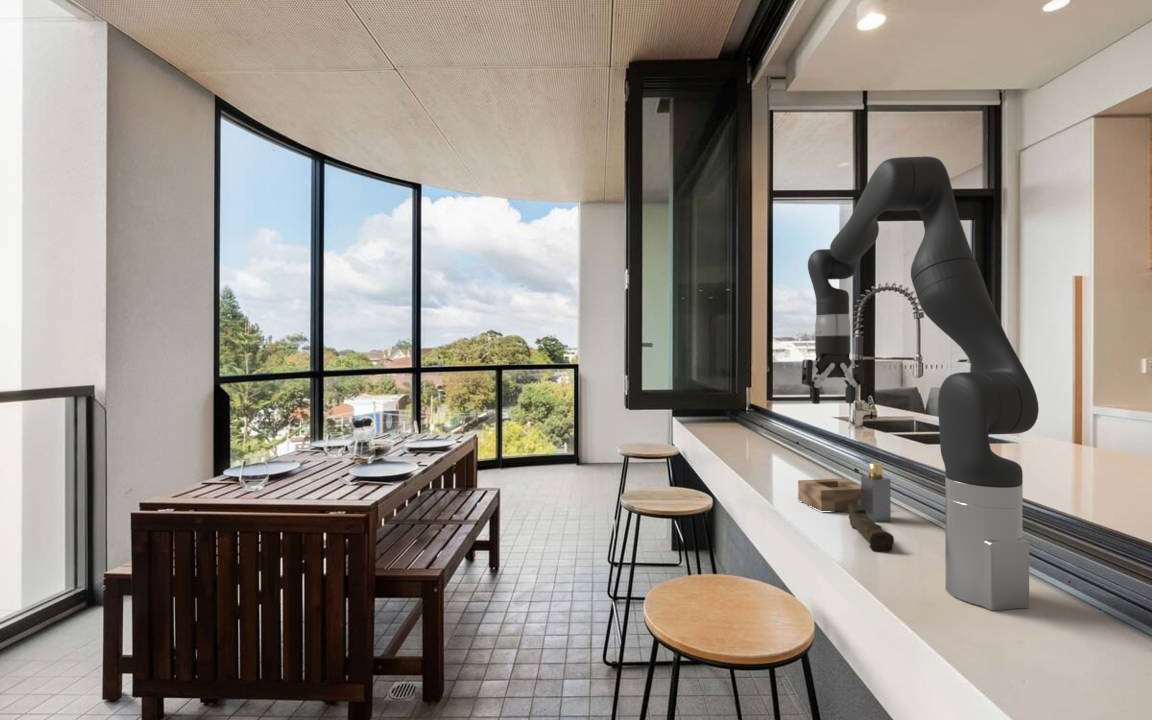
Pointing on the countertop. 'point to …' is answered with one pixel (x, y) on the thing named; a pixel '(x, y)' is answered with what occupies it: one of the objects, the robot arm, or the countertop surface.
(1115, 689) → the countertop surface
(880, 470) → the bit
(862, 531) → the dark brown rod
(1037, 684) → the countertop surface
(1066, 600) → the countertop surface
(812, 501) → the housing
